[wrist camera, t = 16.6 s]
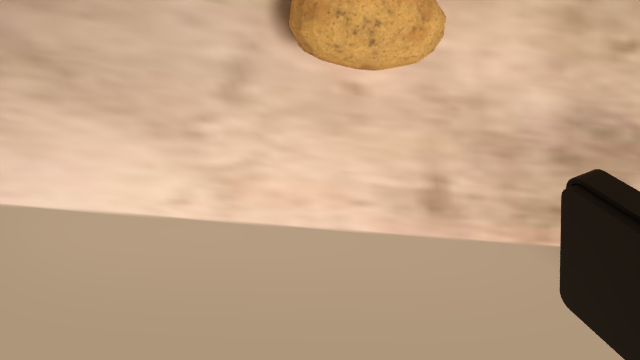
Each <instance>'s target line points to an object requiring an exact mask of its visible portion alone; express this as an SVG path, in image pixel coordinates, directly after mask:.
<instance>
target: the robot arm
mask: <svg viewBox="0 0 640 360" xmlns="http://www.w3.org/2000/svg"><path fill="white" fill-rule="evenodd" d="M560 255H561V256H560V294H561V298H562V300H563V302H564V303H565V305H566V306H567V307H568V308H569V309H570V310H571V311H572V312H573V313H574V314H575V315H576V316H577V317H579V318H580V319H581V320H582V321H583V322H584V323H585V324H586V325H587V326H588V327H590V328H591V329H592V330H593V331H594V332H595V333H596V334H597V335H598V336H599V337H600V338H602V339H603V340H604V341H605V342H606V343H607V344H608V345H609V346H610V347H611V348H613V349H614V350H615V351H616V352H617V353H618V354H619V355H620V356H622V358H624V359H625V360H640V192H639V191H638V190H636V189H634V188H633V187H631V186H629V185H627V184H626V183H624V182H622V181H620V180H619V179H617V178H615V177H613V176H612V175H610V174H608V173H607V172H605V171H602V170H600V169H595V170H592V171H590V172H587V173H585V174H582V175H579V176H577V177H574V178H572V179H570V180H569V181H568V183H567V186H566V189H565V190H563V192H562V196H561V251H560Z"/></svg>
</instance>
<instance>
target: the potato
mask: <svg viewBox="0 0 640 360" xmlns="http://www.w3.org/2000/svg"><path fill="white" fill-rule="evenodd" d="M445 20H446V16H445V14H444V12H443V11H442V9H441V8H440V6H439V5H438V3H437V1H436V0H292V3H291V11H290V19H289V27H290V29H291V31H292V33H293V35H294V37H295V39H296V41H297V43H298V45H299V46H300V47H301V48H302V49H303V50H304V51H305V52H307V53H309V54H311V55H313V56H315V57H317V58H318V59H320V60H323V61H327V62H330V63H334V64H338V65H341V66H346V67H350V68H355V69H362V70H384V69H389V68H395V67H400V66H405V65H409V64H413V63H417V62H419V61H420V60H422V59H423V58H424V57H426V56H427V55H429V54H430V53H431V52H433V51H434V49H435V48H436V46H437V45H438V43H439V42H440V40H441V39H442V37H443V36H444V28H445Z"/></svg>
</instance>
